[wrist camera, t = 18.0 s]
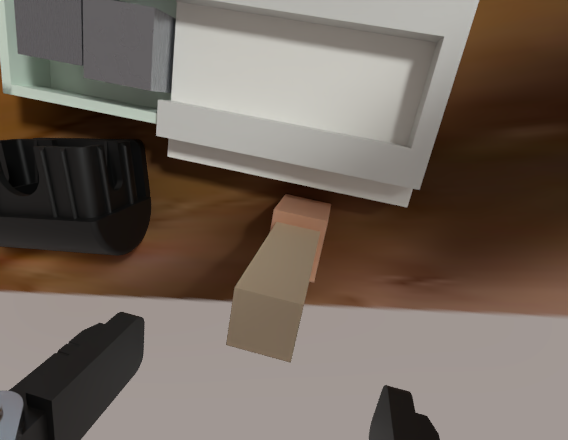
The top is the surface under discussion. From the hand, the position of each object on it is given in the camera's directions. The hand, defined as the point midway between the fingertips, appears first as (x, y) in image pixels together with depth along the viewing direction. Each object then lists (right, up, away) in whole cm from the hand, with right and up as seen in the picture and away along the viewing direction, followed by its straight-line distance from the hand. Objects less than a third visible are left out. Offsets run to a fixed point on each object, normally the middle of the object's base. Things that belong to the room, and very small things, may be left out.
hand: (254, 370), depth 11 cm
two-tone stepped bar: (+2, +4, +13) cm, 14 cm away
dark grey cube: (-9, +16, +9) cm, 20 cm away
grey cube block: (-7, +15, +11) cm, 20 cm away
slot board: (+2, +14, +10) cm, 17 cm away
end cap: (-13, +8, +15) cm, 22 cm away
